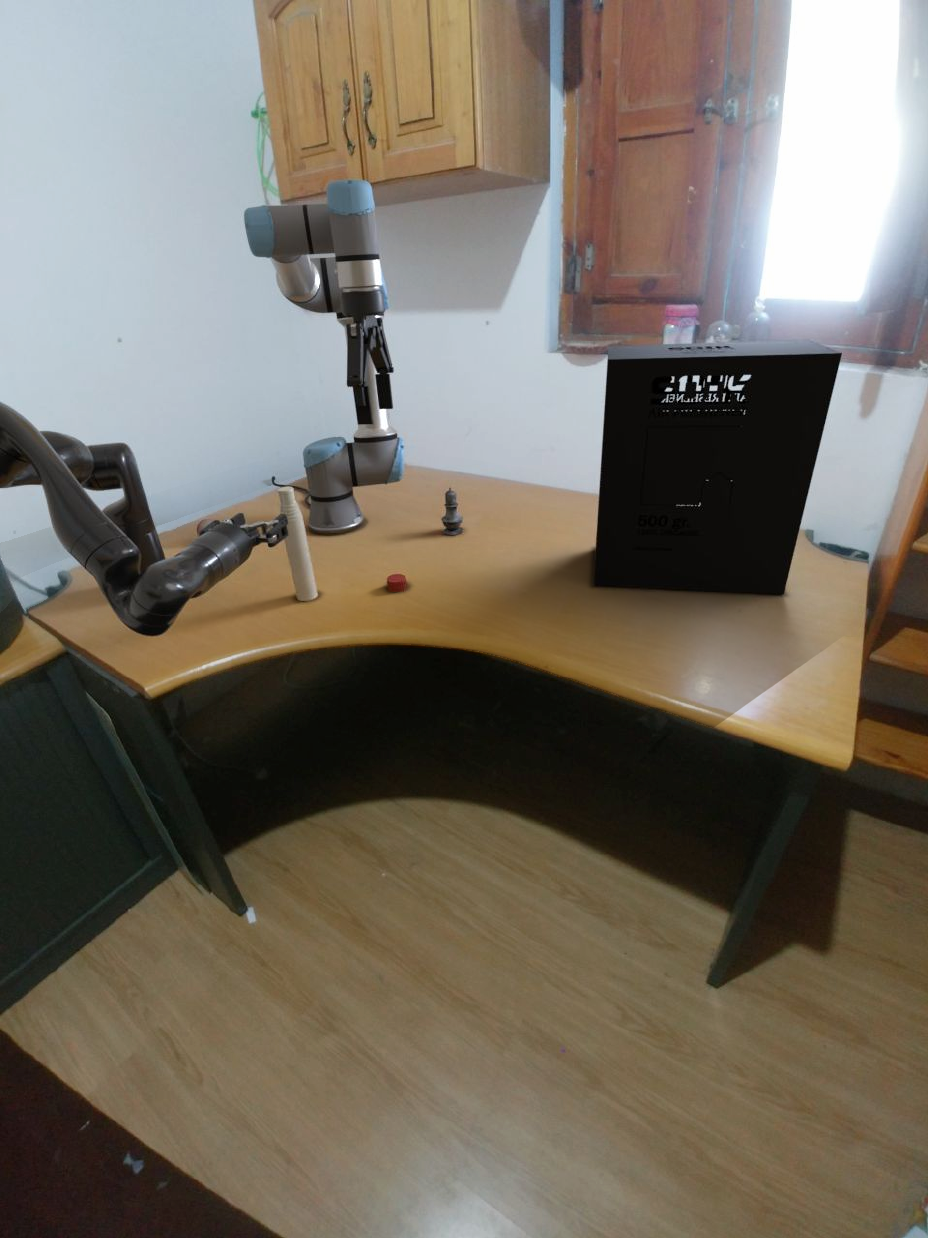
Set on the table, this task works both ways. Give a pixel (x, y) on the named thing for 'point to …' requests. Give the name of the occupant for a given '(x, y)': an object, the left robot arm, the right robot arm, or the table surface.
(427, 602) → the table surface
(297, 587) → the bottle
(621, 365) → the cardboard box
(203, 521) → the eyeball
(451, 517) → the salt shaker
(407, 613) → the table surface
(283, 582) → the table surface
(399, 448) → the right robot arm
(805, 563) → the table surface
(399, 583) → the cap
